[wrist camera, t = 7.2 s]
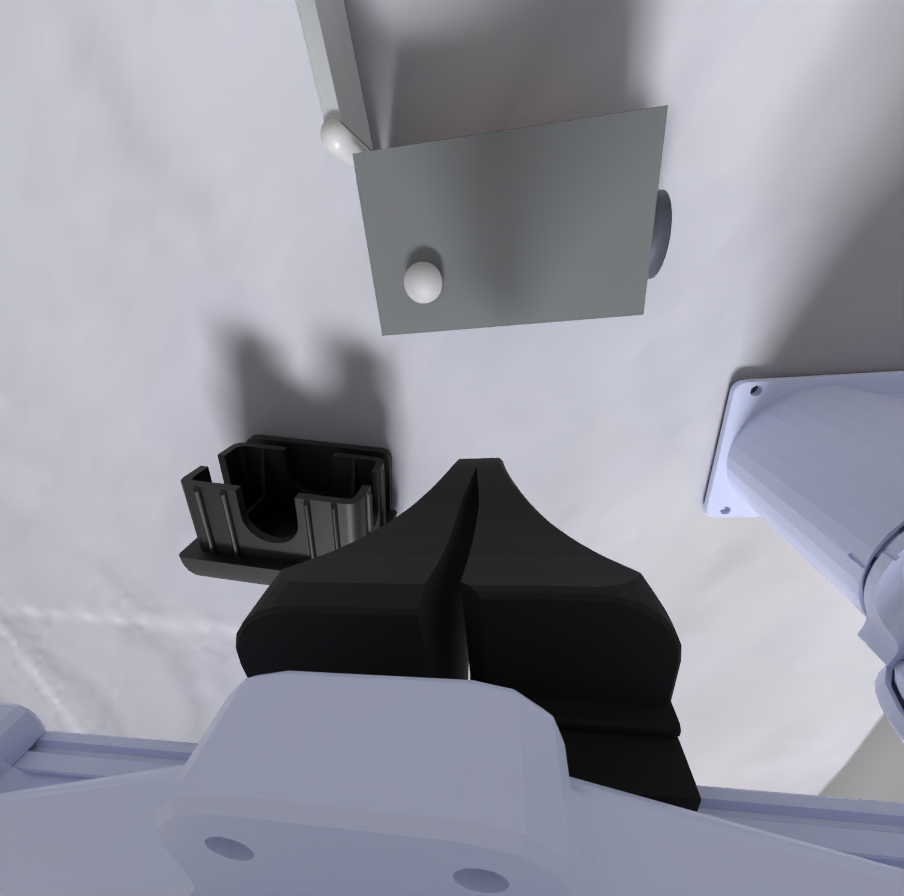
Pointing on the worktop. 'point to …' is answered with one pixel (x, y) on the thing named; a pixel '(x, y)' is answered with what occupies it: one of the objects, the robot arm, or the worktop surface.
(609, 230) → the camera case
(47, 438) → the worktop surface
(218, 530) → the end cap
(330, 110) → the side cover
